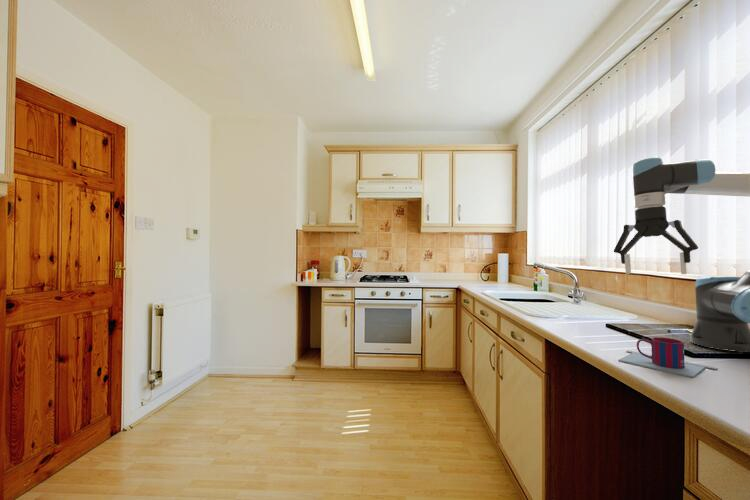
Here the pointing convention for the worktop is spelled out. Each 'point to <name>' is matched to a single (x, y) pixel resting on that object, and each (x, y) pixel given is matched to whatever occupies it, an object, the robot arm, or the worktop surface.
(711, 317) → the robot arm
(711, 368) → the line strip
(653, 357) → the mug
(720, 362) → the worktop surface
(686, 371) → the mat
